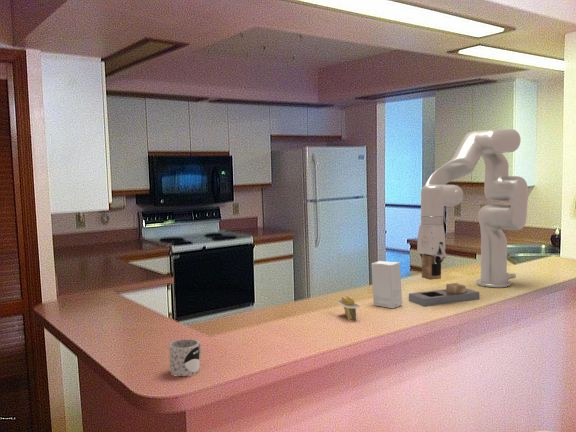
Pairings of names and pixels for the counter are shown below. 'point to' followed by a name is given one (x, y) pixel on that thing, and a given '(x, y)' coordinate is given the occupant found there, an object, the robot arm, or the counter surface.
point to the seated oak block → (455, 288)
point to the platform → (349, 307)
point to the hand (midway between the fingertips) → (431, 273)
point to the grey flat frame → (442, 297)
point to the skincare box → (386, 284)
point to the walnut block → (428, 267)
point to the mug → (185, 357)
